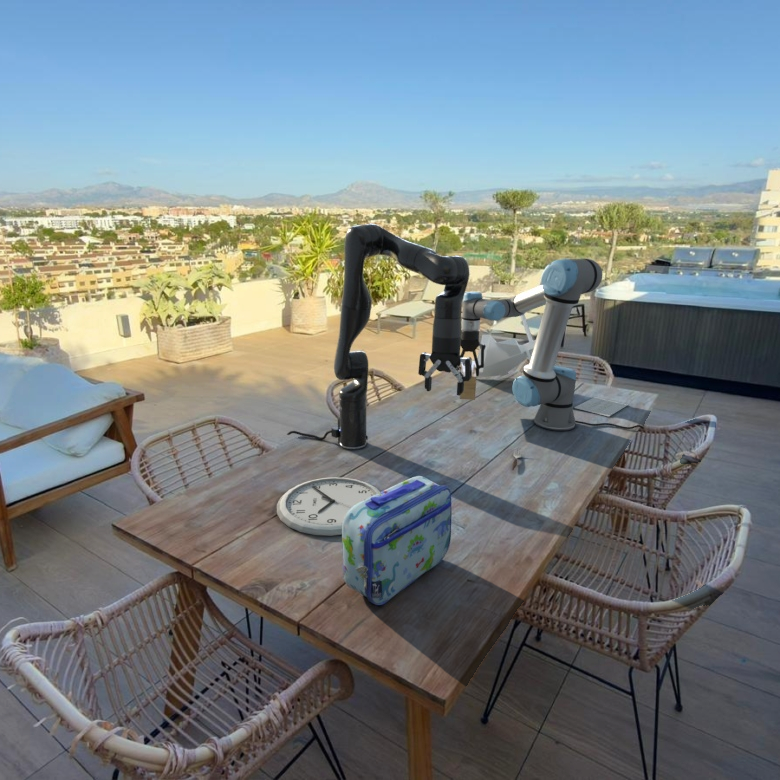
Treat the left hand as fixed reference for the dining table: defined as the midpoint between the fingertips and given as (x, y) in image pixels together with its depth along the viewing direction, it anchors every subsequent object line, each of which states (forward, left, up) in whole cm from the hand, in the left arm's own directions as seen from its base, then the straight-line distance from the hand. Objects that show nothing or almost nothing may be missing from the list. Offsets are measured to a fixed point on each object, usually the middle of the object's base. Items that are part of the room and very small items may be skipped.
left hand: (443, 392), depth 143 cm
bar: (-35, +64, -21) cm, 76 cm away
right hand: (-40, +71, -20) cm, 84 cm away
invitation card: (+4, +110, -30) cm, 114 cm away
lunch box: (+18, -37, -30) cm, 51 cm away
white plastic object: (-42, +108, -30) cm, 120 cm away
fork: (+6, +33, -30) cm, 45 cm away
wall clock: (-16, -27, -30) cm, 43 cm away
